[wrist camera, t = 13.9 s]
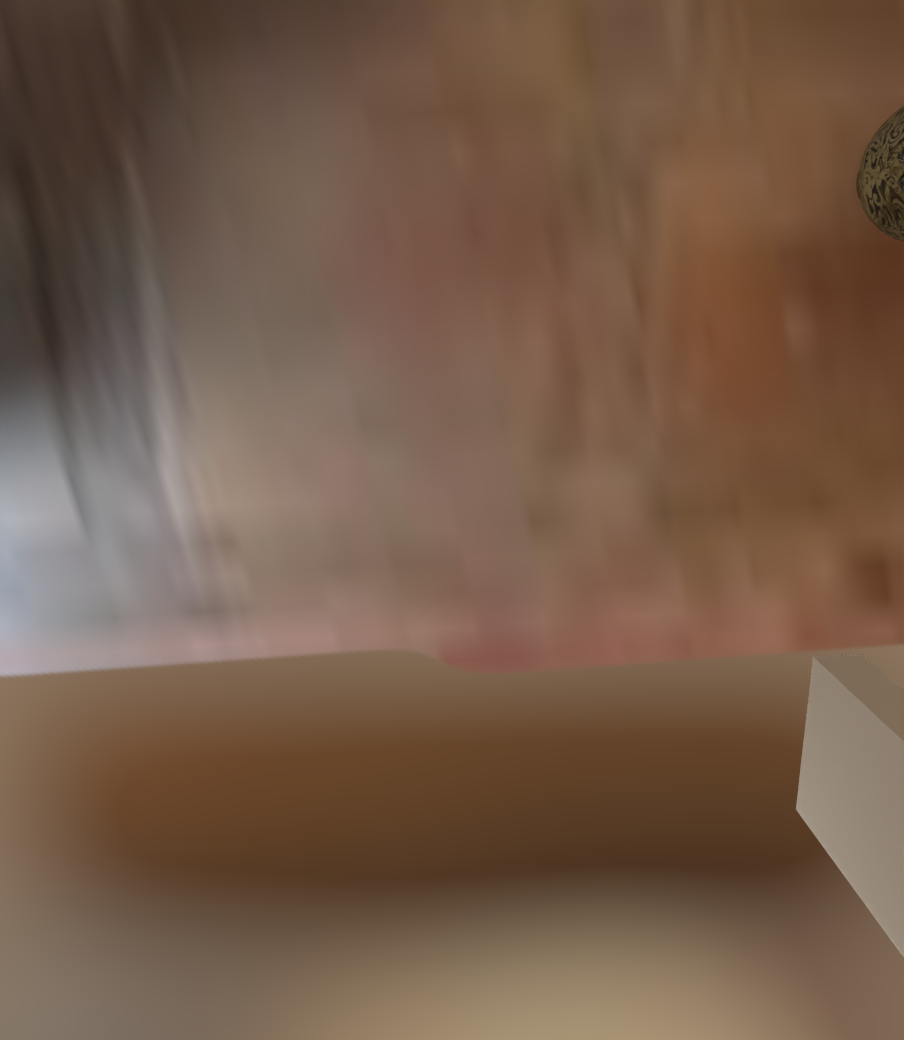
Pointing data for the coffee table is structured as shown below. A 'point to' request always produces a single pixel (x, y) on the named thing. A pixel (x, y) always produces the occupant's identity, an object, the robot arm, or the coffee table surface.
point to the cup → (884, 177)
